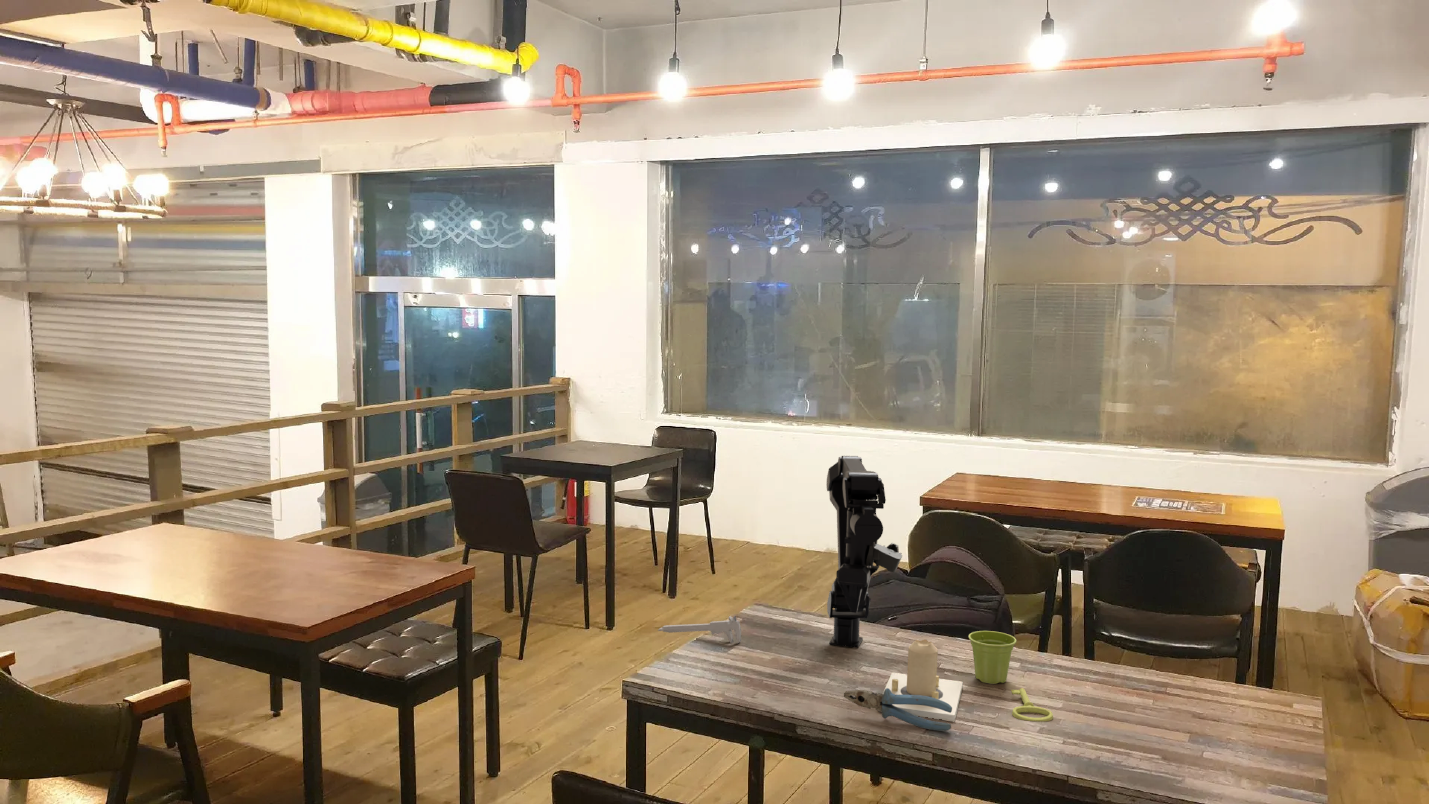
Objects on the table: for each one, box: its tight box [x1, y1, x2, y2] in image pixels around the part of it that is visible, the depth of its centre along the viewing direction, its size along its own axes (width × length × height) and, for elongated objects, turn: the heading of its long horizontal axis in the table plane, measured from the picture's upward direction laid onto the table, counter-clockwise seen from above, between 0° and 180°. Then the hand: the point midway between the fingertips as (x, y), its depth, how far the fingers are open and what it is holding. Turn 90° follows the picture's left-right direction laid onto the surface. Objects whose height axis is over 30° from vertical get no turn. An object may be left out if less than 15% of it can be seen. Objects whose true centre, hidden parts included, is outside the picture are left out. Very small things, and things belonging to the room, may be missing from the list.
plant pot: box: [968, 630, 1017, 685], centre depth 207 cm, size 9×9×9 cm
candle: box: [906, 639, 939, 697], centre depth 195 cm, size 6×6×10 cm
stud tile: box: [882, 672, 964, 723], centre depth 195 cm, size 18×14×3 cm
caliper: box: [657, 615, 742, 644], centre depth 230 cm, size 20×1×6 cm, turn 66°
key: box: [1010, 687, 1054, 723], centre depth 192 cm, size 7×12×2 cm, turn 13°
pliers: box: [843, 688, 952, 732], centre depth 184 cm, size 20×2×6 cm, turn 62°
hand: (858, 606), depth 211 cm, fingers open, 9 cm apart
